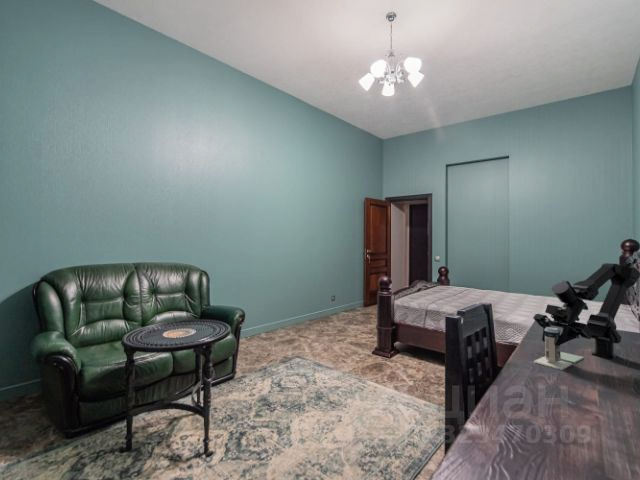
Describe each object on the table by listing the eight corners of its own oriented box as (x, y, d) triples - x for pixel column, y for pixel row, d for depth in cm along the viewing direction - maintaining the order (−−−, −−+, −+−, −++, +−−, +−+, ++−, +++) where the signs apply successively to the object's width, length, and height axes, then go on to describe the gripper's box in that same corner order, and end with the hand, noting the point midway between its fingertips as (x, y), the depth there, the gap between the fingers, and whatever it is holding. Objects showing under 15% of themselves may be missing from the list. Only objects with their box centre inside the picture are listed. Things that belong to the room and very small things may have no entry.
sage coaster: (556, 352, 131) (556, 350, 131) (583, 358, 123) (583, 357, 124) (547, 356, 126) (547, 355, 126) (574, 363, 119) (574, 361, 119)
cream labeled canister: (561, 363, 115) (560, 330, 115) (545, 361, 118) (544, 328, 118) (560, 359, 119) (559, 327, 119) (545, 357, 122) (544, 325, 122)
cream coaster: (544, 357, 125) (544, 356, 125) (572, 364, 117) (572, 363, 117) (533, 362, 120) (533, 361, 120) (562, 370, 112) (561, 368, 112)
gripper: (535, 293, 129) (515, 323, 126) (585, 301, 111) (563, 336, 108) (551, 311, 131) (531, 341, 128) (602, 321, 113) (581, 356, 110)
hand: (549, 342), depth 118 cm, fingers closed on cream labeled canister, 5 cm apart
